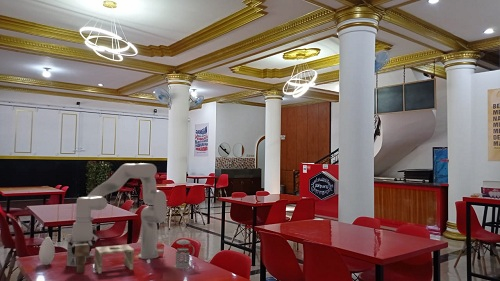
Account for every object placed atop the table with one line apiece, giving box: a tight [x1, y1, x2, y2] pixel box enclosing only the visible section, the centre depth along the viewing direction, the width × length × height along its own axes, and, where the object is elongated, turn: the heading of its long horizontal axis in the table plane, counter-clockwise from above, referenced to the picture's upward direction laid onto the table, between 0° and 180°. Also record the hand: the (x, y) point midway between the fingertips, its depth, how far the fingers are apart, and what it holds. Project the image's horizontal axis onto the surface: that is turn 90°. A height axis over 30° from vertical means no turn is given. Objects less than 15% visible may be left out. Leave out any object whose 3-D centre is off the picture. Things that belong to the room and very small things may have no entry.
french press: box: [173, 222, 195, 269], centre depth 223 cm, size 10×12×25 cm
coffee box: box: [66, 238, 87, 267], centre depth 220 cm, size 9×6×16 cm
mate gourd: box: [86, 223, 100, 259], centre depth 239 cm, size 16×14×20 cm
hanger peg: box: [74, 244, 91, 274], centre depth 206 cm, size 7×7×14 cm
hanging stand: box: [93, 244, 135, 274], centre depth 213 cm, size 18×14×11 cm
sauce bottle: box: [38, 233, 56, 266], centre depth 218 cm, size 8×8×18 cm
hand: (81, 253), depth 206 cm, fingers closed on hanger peg, 7 cm apart
